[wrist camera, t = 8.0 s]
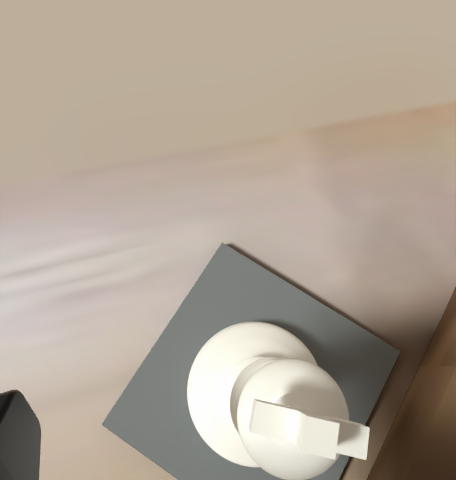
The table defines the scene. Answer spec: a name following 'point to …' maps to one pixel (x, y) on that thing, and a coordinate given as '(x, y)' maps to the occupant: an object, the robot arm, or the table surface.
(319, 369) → the chess piece
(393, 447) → the brown slab with hole
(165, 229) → the table surface
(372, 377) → the rubber mat
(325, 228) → the table surface
